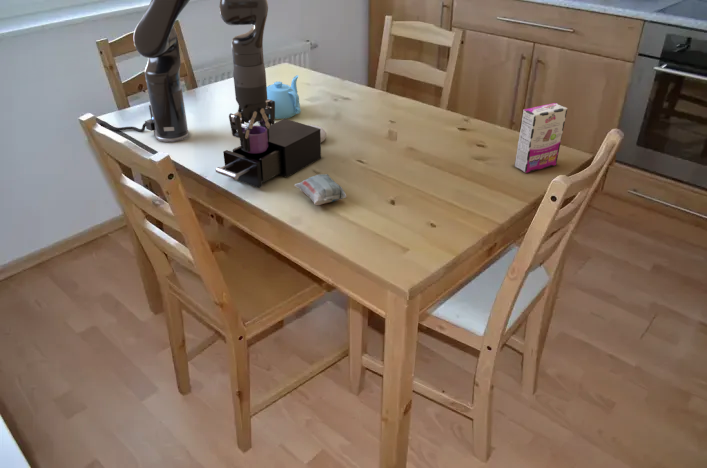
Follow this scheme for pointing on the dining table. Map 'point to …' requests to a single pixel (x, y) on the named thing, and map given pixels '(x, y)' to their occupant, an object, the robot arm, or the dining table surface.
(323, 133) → the donut
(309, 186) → the packaged food
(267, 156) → the drawer
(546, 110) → the candy bar box
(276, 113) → the teapot
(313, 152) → the cabinet
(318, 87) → the dining table surface
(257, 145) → the cup
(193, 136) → the dining table surface
